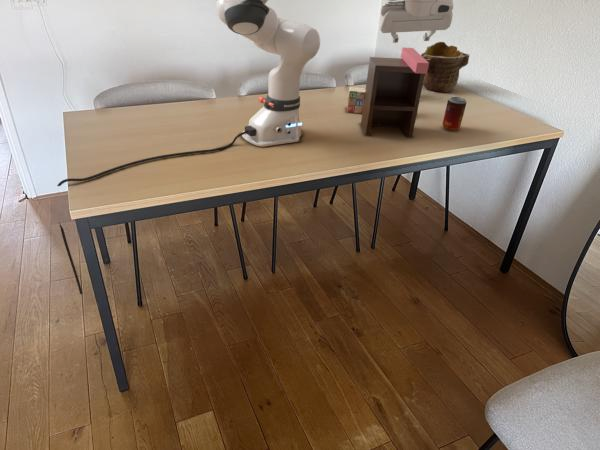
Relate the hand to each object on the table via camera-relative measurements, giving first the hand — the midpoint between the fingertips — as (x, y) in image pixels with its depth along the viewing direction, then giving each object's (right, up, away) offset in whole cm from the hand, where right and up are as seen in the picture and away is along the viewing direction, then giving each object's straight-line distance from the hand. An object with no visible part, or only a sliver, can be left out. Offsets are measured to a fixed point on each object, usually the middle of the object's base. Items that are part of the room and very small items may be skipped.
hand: (410, 40), depth 135 cm
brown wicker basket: (+35, +13, +91) cm, 99 cm away
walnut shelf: (0, -19, +40) cm, 45 cm away
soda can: (+27, -17, +46) cm, 56 cm away
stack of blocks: (-3, -7, +57) cm, 58 cm away
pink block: (+7, +1, +24) cm, 25 cm away
